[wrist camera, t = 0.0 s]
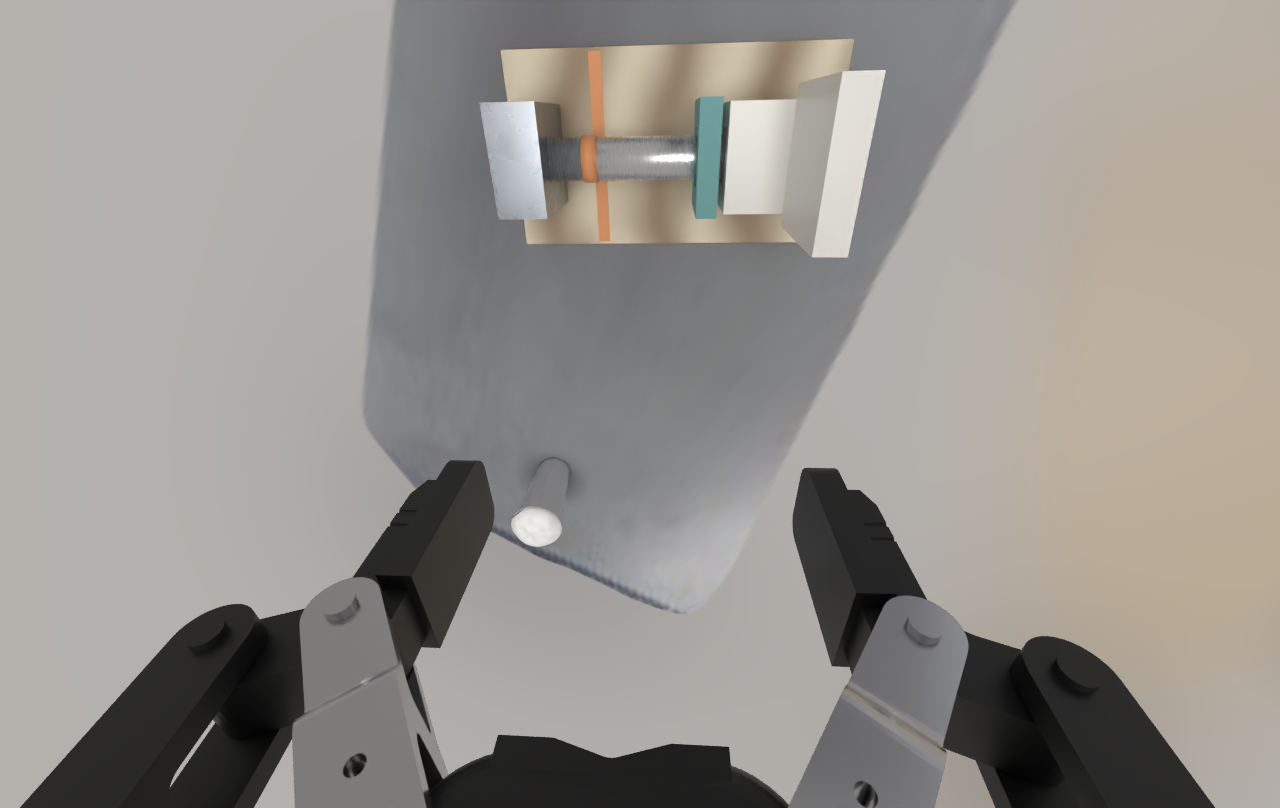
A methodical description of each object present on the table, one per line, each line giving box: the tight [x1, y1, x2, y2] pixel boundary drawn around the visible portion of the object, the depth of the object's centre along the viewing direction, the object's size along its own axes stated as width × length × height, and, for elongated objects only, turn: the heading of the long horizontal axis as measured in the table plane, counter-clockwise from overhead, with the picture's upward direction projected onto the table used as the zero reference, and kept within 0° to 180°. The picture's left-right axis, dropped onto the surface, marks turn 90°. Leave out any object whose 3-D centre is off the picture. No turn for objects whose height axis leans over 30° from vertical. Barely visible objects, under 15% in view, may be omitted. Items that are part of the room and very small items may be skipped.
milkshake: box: [508, 458, 570, 547], centre depth 45 cm, size 4×5×10 cm
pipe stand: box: [480, 39, 854, 244], centre depth 30 cm, size 22×12×8 cm, turn 91°
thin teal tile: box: [692, 96, 724, 219], centre depth 29 cm, size 1×6×6 cm, turn 1°
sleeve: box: [717, 70, 886, 257], centre depth 25 cm, size 5×7×13 cm
